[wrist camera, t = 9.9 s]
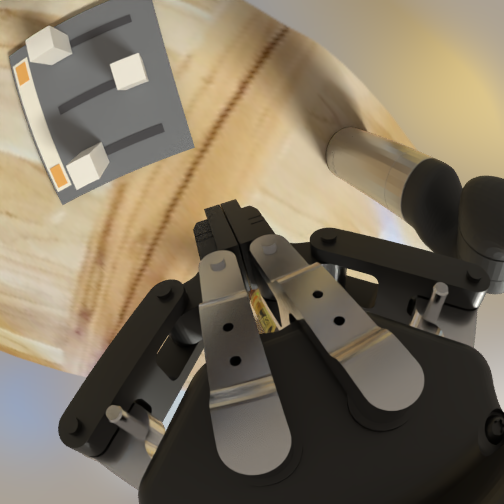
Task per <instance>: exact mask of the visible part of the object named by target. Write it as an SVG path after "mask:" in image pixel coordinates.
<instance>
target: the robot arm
mask: <svg viewBox="0 0 504 504" xmlns="http://www.w3.org/2000/svg"><path fill="white" fill-rule="evenodd" d="M326 160H327V164H328V167H329V169H330V170H331V172H332V173H333V174H334V175H335V176H337V177H339V178H340V179H342V180H343V181H345V182H347V183H348V184H350V185H351V186H353V187H355V188H356V189H358V190H359V191H361V192H363V193H364V194H366V195H367V196H369V197H370V198H372V199H373V200H375V201H376V202H378V203H379V204H381V205H382V206H384V207H385V208H387V209H388V210H390V211H391V212H393V213H394V214H396V215H397V216H399V217H400V218H401V219H403V220H404V221H406V222H407V223H408V224H410V225H411V226H412V227H413V228H414V229H415V230H416V232H417V234H418V236H419V237H420V239H421V240H422V241H423V242H424V244H425V245H426V246H427V247H429V248H430V249H431V250H432V251H433V252H430V251H426V250H422V249H419V248H415V247H411V246H407V245H403V244H399V243H395V242H391V241H387V240H383V239H379V238H375V237H371V236H366V235H362V234H358V233H353V232H349V231H345V230H340V229H336V228H323V229H319V230H317V231H315V232H314V233H313V234H312V235H311V236H310V242H305V243H289V242H288V241H287V240H286V239H285V238H284V237H282V236H280V235H276V234H275V233H274V231H273V230H272V229H271V227H270V226H269V224H268V223H267V222H266V220H265V219H264V217H263V216H262V215H261V213H260V212H259V211H258V209H256V208H254V207H252V206H247V207H244V208H241V207H240V205H239V204H238V202H237V200H236V199H235V200H231V201H228V202H225V203H222V204H220V205H221V207H220V205H216V206H213V207H210V208H206V209H204V210H205V213H206V217H207V220H204V221H201V222H198V223H196V225H195V227H194V229H193V231H194V235H195V240H196V244H197V248H198V252H199V256H200V260H201V261H200V263H199V272H198V273H197V274H196V275H195V276H194V277H193V278H192V279H191V280H189V281H187V282H186V283H184V284H182V283H181V282H180V281H178V280H165V281H162V282H160V283H158V284H157V285H155V286H154V287H153V288H152V289H151V290H150V291H149V293H148V294H147V295H146V297H145V298H144V299H143V301H142V302H141V303H140V304H139V306H138V307H137V308H136V310H135V311H134V312H133V314H132V315H131V316H130V318H129V319H128V320H127V322H126V323H125V324H124V326H123V327H122V329H121V330H120V331H119V333H118V334H117V335H116V337H115V338H114V340H113V341H112V342H111V344H110V345H109V346H108V348H107V349H106V351H105V352H104V354H103V355H102V356H101V358H100V359H99V361H98V362H97V364H96V365H95V366H94V368H93V369H92V371H91V372H90V374H89V375H88V377H87V378H86V380H85V381H84V383H83V384H82V386H81V387H80V389H79V390H78V392H77V393H76V395H75V396H74V398H73V400H72V401H71V402H70V404H69V406H68V407H67V409H66V410H65V412H64V414H63V415H62V417H61V419H60V421H59V427H58V431H59V436H60V439H61V440H62V442H63V443H64V444H65V445H66V446H68V447H70V448H72V449H74V450H76V451H78V452H80V453H82V454H83V455H84V456H86V457H89V458H91V459H93V460H95V461H98V462H100V463H101V464H102V465H104V466H105V467H106V468H107V469H109V470H110V471H111V472H113V473H114V474H115V475H117V476H118V477H120V478H121V479H122V480H124V481H125V482H127V483H128V484H130V485H131V486H133V487H134V488H136V489H137V490H139V492H138V498H139V504H504V412H503V411H502V409H501V407H500V405H499V402H498V400H497V396H496V393H495V390H494V385H493V379H492V374H491V370H490V367H489V365H488V363H487V361H486V360H485V358H484V357H483V356H482V355H481V354H480V353H479V352H478V351H477V350H476V349H474V342H475V333H476V321H477V310H478V308H479V306H480V304H481V302H482V301H483V299H484V296H485V294H486V293H489V294H501V293H504V179H502V178H499V177H494V176H479V177H476V178H473V179H471V180H470V181H468V182H467V183H466V184H465V186H464V188H462V186H461V183H460V181H459V178H458V176H457V174H456V172H455V171H454V169H453V168H452V167H450V166H449V165H447V164H446V163H444V162H442V161H440V160H437V159H435V158H433V157H431V156H429V155H426V154H424V153H422V152H419V151H417V150H414V149H412V148H410V147H407V146H405V145H402V144H400V143H397V142H395V141H392V140H389V139H387V138H384V137H381V136H378V135H376V134H373V133H370V132H367V131H364V130H361V129H357V128H354V127H347V128H343V129H341V130H339V131H338V132H337V133H336V134H335V135H334V136H333V137H332V139H331V140H330V142H329V145H328V147H327V153H326ZM347 268H348V269H352V270H355V271H359V272H362V273H366V274H369V275H372V276H374V277H375V278H376V279H377V280H378V283H379V284H375V283H371V282H368V281H364V280H361V279H357V278H354V277H350V276H347V275H346V271H347ZM248 282H249V283H248ZM249 284H250V287H251V289H252V290H254V289H257V288H258V289H259V291H260V294H261V298H262V302H263V304H264V306H265V307H266V309H267V311H268V312H269V314H270V316H271V318H272V319H273V321H274V323H275V324H276V326H277V328H278V329H279V331H277V332H271V333H264V334H259V332H258V329H257V326H256V322H255V319H254V316H253V312H252V309H251V306H250V298H249V295H248V291H250V287H249ZM168 335H169V336H168ZM167 336H168V338H167ZM166 338H167V339H166ZM165 339H166V341H165ZM164 341H165V343H164V344H163V342H164ZM162 344H163V346H162ZM161 346H162V347H161ZM160 347H161V349H160ZM159 349H160V350H159ZM203 349H204V352H205V360H206V363H205V364H204V365H203V366H202V367H201V368H200V369H199V370H198V372H197V373H196V374H195V376H194V377H193V379H192V381H191V382H190V384H189V386H188V388H187V390H186V392H185V394H184V396H183V398H182V400H181V402H180V404H179V406H178V408H177V410H176V412H175V414H174V416H173V418H172V420H171V422H170V424H169V426H168V428H167V430H166V432H165V428H164V425H163V424H162V422H163V420H164V418H165V417H166V415H167V413H168V411H169V409H170V408H171V406H172V404H173V402H174V401H175V399H176V397H177V395H178V393H179V392H180V390H181V388H182V386H183V385H184V383H185V381H186V379H187V377H188V376H189V374H190V372H191V370H192V368H193V367H194V365H195V363H196V361H197V359H198V358H199V356H200V354H201V352H202V350H203ZM158 350H159V352H158ZM157 352H158V354H157Z"/></svg>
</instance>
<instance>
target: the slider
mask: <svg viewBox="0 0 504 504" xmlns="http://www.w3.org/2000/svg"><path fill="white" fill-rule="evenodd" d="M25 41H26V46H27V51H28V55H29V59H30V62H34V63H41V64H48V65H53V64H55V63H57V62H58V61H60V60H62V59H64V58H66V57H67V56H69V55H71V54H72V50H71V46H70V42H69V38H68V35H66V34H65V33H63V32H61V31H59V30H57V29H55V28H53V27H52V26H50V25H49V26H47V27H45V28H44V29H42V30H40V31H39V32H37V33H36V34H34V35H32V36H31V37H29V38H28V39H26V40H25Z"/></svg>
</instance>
